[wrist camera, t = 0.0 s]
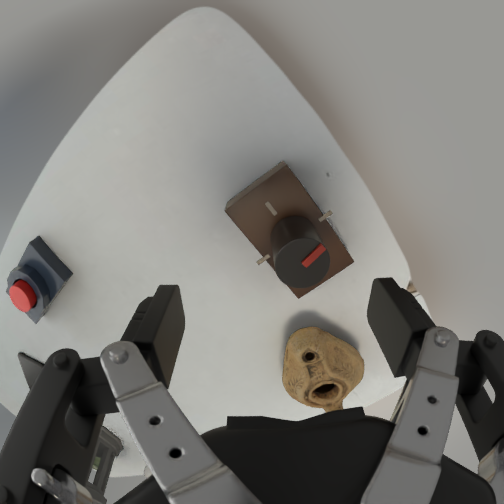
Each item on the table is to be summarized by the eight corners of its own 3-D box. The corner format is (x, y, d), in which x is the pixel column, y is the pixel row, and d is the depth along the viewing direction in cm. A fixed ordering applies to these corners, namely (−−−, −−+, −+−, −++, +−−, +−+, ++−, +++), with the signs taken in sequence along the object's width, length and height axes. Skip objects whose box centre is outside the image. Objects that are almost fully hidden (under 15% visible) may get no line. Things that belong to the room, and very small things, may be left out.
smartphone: (44, 368, 40) (58, 410, 46) (46, 365, 41) (59, 407, 47) (15, 353, 39) (31, 396, 45) (17, 350, 40) (33, 394, 46)
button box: (38, 235, 31) (21, 248, 27) (72, 273, 33) (57, 289, 29) (13, 284, 34) (-1, 297, 30) (42, 316, 36) (30, 331, 33)
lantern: (100, 453, 56) (71, 558, 24) (50, 417, 50) (5, 526, 18) (137, 448, 52) (109, 576, 20) (79, 407, 46) (28, 545, 14)
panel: (220, 207, 30) (217, 216, 27) (289, 155, 28) (294, 159, 25) (289, 288, 34) (292, 303, 31) (352, 245, 31) (361, 258, 29)
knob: (293, 267, 29) (302, 300, 24) (260, 239, 28) (262, 268, 23) (326, 236, 28) (342, 264, 22) (293, 206, 26) (304, 227, 21)
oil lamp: (323, 296, 34) (339, 340, 27) (370, 361, 39) (386, 402, 32) (249, 339, 37) (248, 387, 30) (307, 394, 42) (314, 435, 35)
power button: (20, 273, 29) (13, 280, 27) (40, 295, 30) (33, 302, 29) (13, 289, 30) (6, 296, 29) (31, 310, 31) (25, 317, 30)
